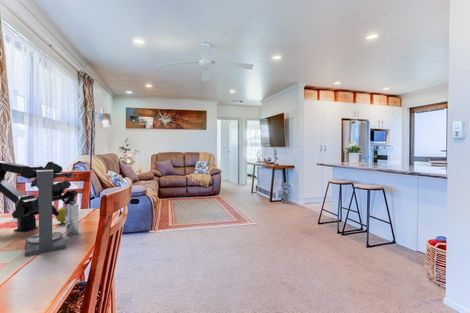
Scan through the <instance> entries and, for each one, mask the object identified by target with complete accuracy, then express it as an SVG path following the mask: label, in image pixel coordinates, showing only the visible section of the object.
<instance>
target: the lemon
mask: <svg viewBox="0 0 470 313" xmlns="http://www.w3.org/2000/svg"><path fill="white" fill-rule="evenodd" d="M56 210H57V211H58V213H59V215H58V216H55V219H56V221H57V222H59V223H62V224H63V223H64V222H65V207H62V206H61V207H60V208H59V209H56Z"/></svg>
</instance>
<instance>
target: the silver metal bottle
mask: <svg viewBox="0 0 470 313" xmlns="http://www.w3.org/2000/svg"><path fill="white" fill-rule="evenodd" d="M74 202H75V200H74V201H71V202H70V204H68V205H66V204H65V206H64V208H65V221H64V222H65V224H64V225H65V231H64V232H65V236H69V237H70V236H75V235H79V233H80V232H79V231H80V230H79V229H80V227H79V226H80V224H79V222H80V221H79V219H80V218H79V216H80V215H79V212H80V210H79V207H80V206H79V203H75V204H74Z"/></svg>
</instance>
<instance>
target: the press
mask: <svg viewBox="0 0 470 313" xmlns="http://www.w3.org/2000/svg"><path fill="white" fill-rule="evenodd" d="M54 177H56V178H67V179H71V178H72V177H73V172H71V171H67V172H65V173H62V172H61V173H60V174H54V171H53V170H36V178H37V186H38V188H37V189H38V190H37V191H38V192H37V194H38V195H37V197H38V205H39V214H38V233H36V234H34V235H31V236H27V237H25V247H24V248H25V249H24V256H25V257H27V256H33V255H37V254H38V255H39V254H42V253H48V252H53V251H59V250H64V249H66V242H65V239H64V236H63V235H64V234H63V232H62V231H60V232H59V231H53V214H52V205H53V202H52V185H54V184H55V180H54ZM36 178H35V179H36Z"/></svg>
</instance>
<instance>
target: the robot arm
mask: <svg viewBox="0 0 470 313" xmlns="http://www.w3.org/2000/svg"><path fill="white" fill-rule="evenodd" d="M36 170H53V171H54V174H60V173H62V172H63V167H62V166H61V165H59V164H58V163H54V162H53V161H48V162H47V163H46V165H45V166H44V167H43V166H42V165H36V164H35V165H25V164H24V165H23V164H20V163H19V164H18V163H15V162H9V161H5V160H3V161H1V160H0V193H1V194H2V195H4V196H5V197H6V198H7V199H8V200H10V201H11V202H12V203H13V204H14V208H15V210H13V212H12V213H11V216H12V219H16V221H17V222H16V223H17V225H16V227H17V228H15V229H13V231H14V232H25V233H26V232H30V231H32V230H35V229H39V225H37V220H36V215H39V205H38V196H37V197H36V196H35V195H33V194H30V195H25V194H24V193H23V192H21V191H20V190H19V189H18V188H16V187H15V186H14V185H12V184H11V183H10V182H9V181H7V180H6V177H5V176H6V174H7V173H12V174H18V175H19V176H20V177H22V178H24V179H27V180H29V179H30V180H31V179H34V180H32V181H31V183H30V187H31V188H34V187H35V188H36V189H38V186H37V178H36ZM56 179H57V177H54V181H55V180H56ZM71 186H72V184H71V182H70V181H69V180H68V179H65V180H63V181H58V182H57V183H54V185H52V203H53V202H57V201H61V202H64V203H63V204H65V205H68V204H70V202H71V201H74V204H76V203H75V202H76V201H75V198H76V196H77V195H78V192H77V190H76V189H70V190H67V189H69V188H70V187H71ZM65 190H66V191H65ZM63 193H64V194H63ZM57 210H58V209H56V207H55V206H54V205H53V204H52V216H53V215H54V216H55V217H56V216H58V215H59V213H58V211H57Z"/></svg>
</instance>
